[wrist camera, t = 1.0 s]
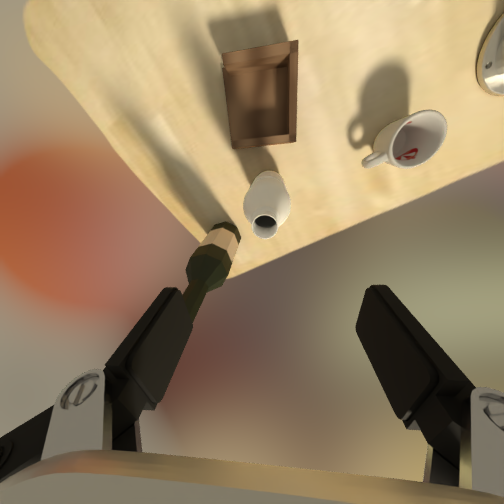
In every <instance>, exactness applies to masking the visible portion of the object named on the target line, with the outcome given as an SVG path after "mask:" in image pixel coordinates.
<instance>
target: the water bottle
mask: <svg viewBox="0 0 504 504" xmlns="http://www.w3.org/2000/svg"><path fill="white" fill-rule="evenodd" d="M243 209H244V213H245V216H246V218H247V220H248V221H249V222H250V223H251V224H252V231H253V233H254V234H255V235H256V236H257V237H259V238H261V239H268V238H271V237H273V236H274V235H275V234H276V232H277V230H278V227H279V226H280V225H282V224H283V223H284V222H285V220H286V219H287V217H288V216H289V213H290V209H291V199H290V196H289V194H288V192H287V189H286V186H285V182H284V180H283V178H282V177H281V176H280V175H279V174H278V173H277V172H274V171H264V172H262V173H260V174H259V175H258V176H257V177H256V178H255V179H254V181H253V183H252V185H251V186H250V188H249V190H248V192H247V193H246V195H245V198H244V203H243Z"/></svg>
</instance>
